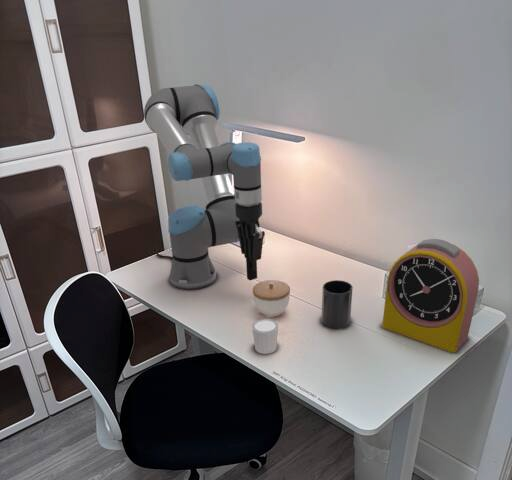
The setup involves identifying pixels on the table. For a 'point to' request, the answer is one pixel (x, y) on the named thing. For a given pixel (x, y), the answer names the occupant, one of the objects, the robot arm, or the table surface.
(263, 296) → the trinket box
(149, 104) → the robot arm
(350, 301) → the pen cup
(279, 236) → the table surface
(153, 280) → the table surface
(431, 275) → the alarm clock
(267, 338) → the white cylinder
